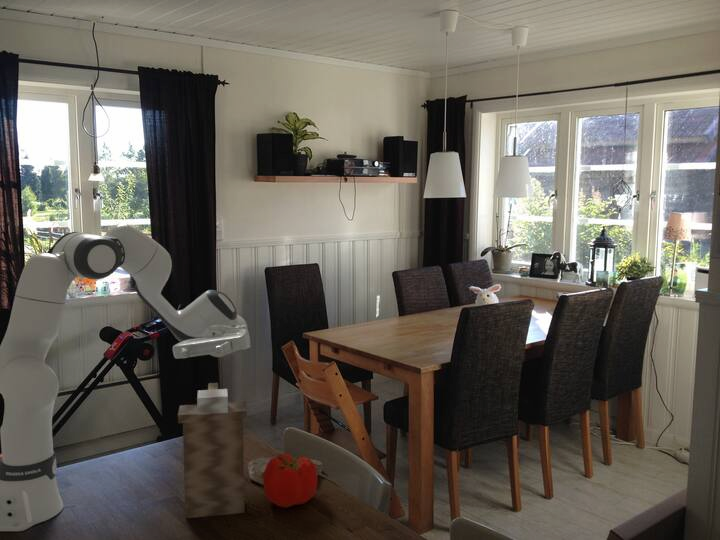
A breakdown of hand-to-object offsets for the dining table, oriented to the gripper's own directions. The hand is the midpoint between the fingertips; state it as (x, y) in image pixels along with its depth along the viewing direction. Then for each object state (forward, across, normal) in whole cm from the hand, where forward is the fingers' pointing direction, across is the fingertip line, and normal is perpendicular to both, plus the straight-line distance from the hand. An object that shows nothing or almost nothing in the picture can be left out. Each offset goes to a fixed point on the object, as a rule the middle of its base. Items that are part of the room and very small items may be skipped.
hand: (201, 352), depth 169 cm
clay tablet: (-10, +12, +40) cm, 43 cm away
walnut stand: (+10, 0, +38) cm, 39 cm away
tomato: (+4, +17, +41) cm, 45 cm away
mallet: (+7, +3, +12) cm, 14 cm away
